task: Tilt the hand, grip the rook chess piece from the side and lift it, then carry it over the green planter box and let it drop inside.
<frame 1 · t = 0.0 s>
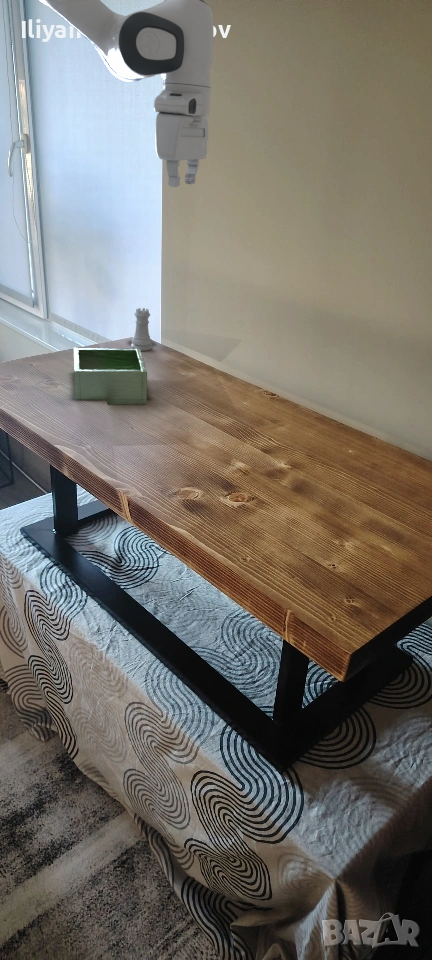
hand: (182, 185, 124), 31 cm above the table, tool pointing down, fingers open, 8 cm apart
rook chess piece: (141, 349, 130), on the table
green planter box: (109, 391, 108), on the table
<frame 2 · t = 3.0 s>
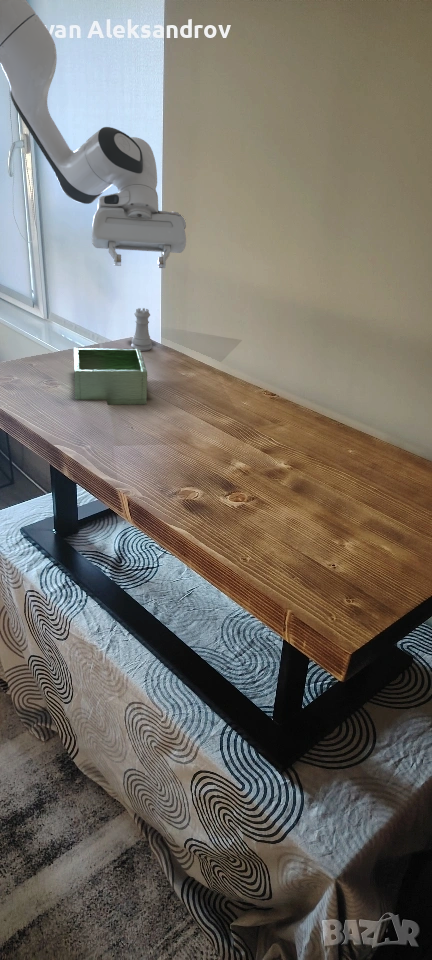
hand: (140, 265, 133), 14 cm above the table, tool tilted 45°, fingers open, 8 cm apart
nothing on the table moved.
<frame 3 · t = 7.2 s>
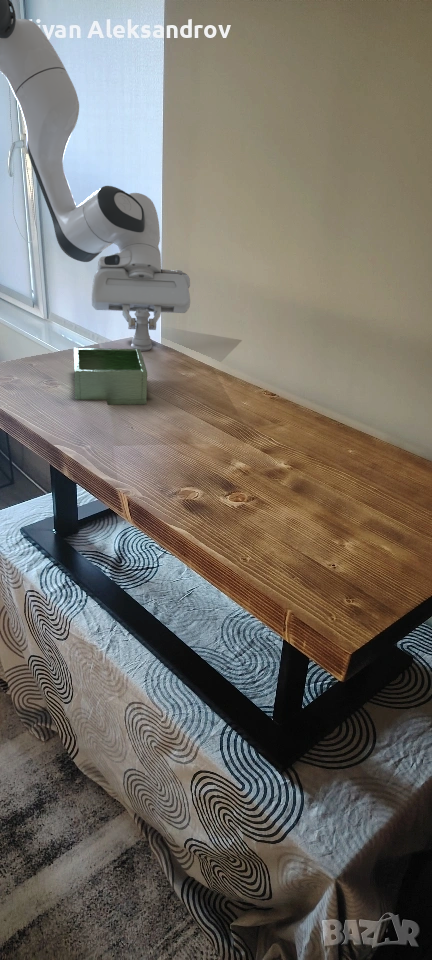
hand: (142, 328, 128), 4 cm above the table, tool tilted 45°, fingers closed on rook chess piece, 3 cm apart
rook chess piece: (141, 349, 130), on the table, touching gripper
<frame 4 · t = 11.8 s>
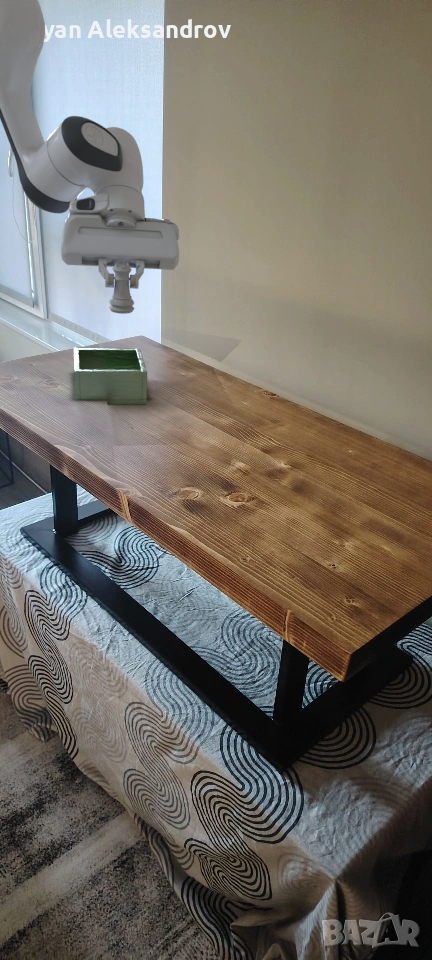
hand: (121, 286, 107), 16 cm above the table, tool tilted 45°, fingers closed on rook chess piece, 3 cm apart
rook chess piece: (121, 311, 110), point 12 cm above the table, touching gripper
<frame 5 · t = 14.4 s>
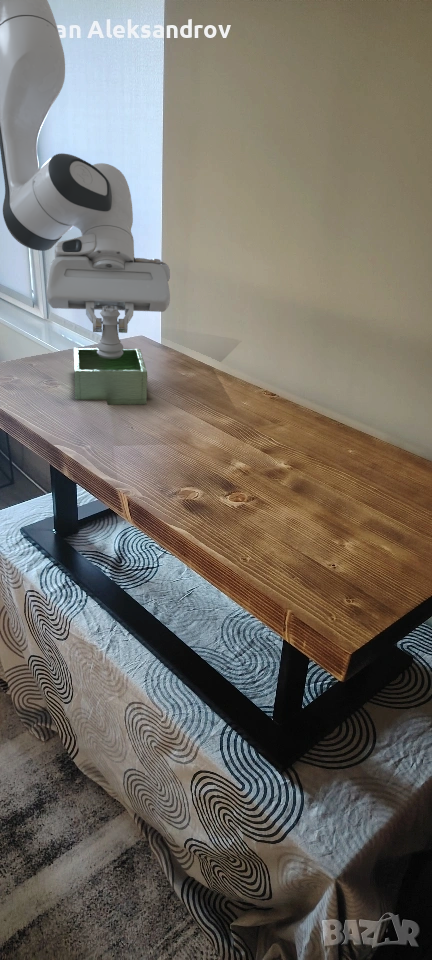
hand: (110, 330, 103), 11 cm above the table, tool tilted 45°, fingers closed on rook chess piece, 3 cm apart
rook chess piece: (110, 356, 105), point 6 cm above the table, touching gripper
when the fingers open (6 cm above the table, at t = 17.2 s): rook chess piece stays where it is, resting on green planter box.
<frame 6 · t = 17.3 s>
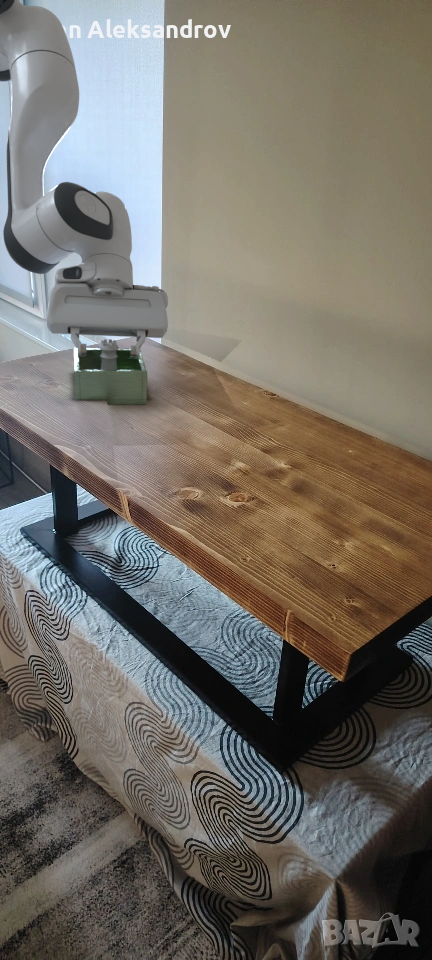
hand: (108, 356, 105), 6 cm above the table, tool tilted 45°, fingers open, 7 cm apart
rook chess piece: (109, 387, 108), point 1 cm above the table, touching green planter box
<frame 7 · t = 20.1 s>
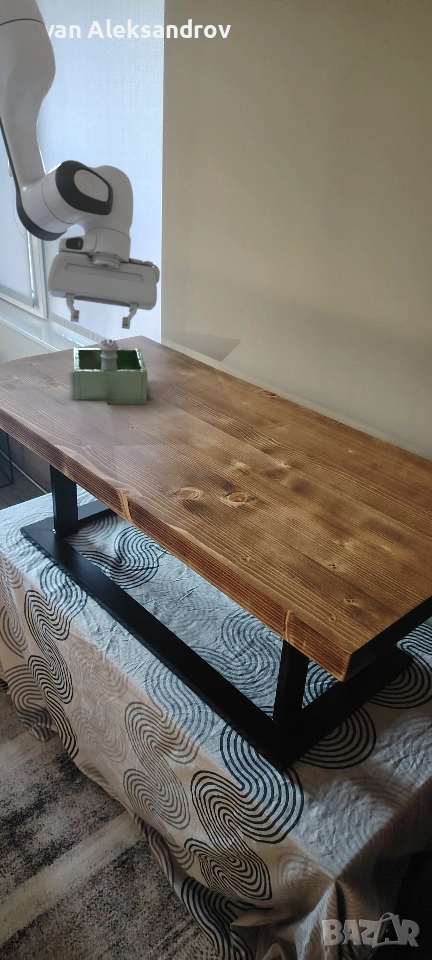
hand: (100, 324, 117), 8 cm above the table, tool tilted 35°, fingers open, 8 cm apart
nothing on the table moved.
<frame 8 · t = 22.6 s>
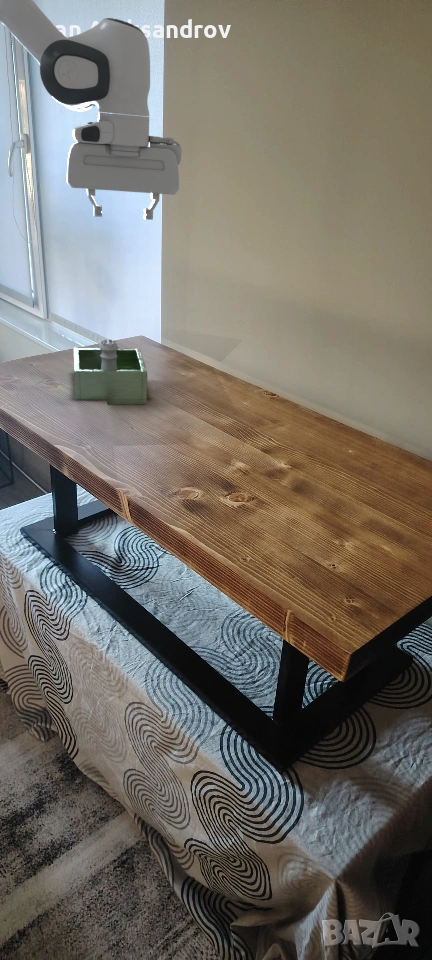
hand: (123, 217, 117), 25 cm above the table, tool pointing down, fingers open, 8 cm apart
nothing on the table moved.
at the end: rook chess piece inside the target area in the green planter box (0.2 cm from its centre), point 0.6 cm above the green planter box's base; the gripper is holding nothing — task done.
